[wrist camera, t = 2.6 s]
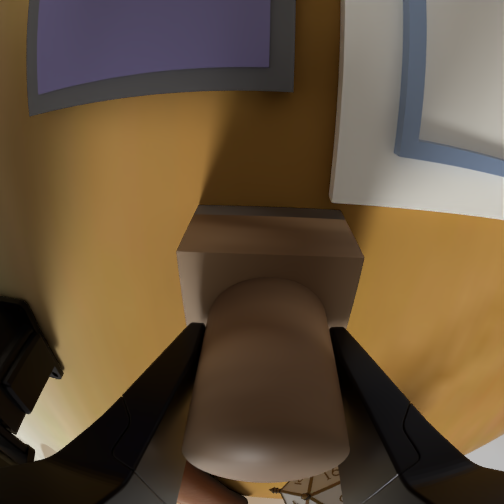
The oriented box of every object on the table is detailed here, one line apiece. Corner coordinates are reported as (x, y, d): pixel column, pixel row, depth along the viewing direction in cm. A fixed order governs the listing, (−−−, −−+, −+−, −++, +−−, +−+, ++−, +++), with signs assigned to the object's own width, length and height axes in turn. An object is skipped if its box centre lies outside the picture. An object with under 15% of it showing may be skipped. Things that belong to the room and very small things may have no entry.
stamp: (206, 313, 14) (172, 480, 7) (198, 204, 11) (118, 388, 4) (321, 317, 13) (347, 484, 7) (340, 210, 11) (420, 394, 4)
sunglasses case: (98, 436, 22) (111, 496, 17) (160, 406, 24) (185, 464, 19) (187, 496, 31) (207, 535, 25) (232, 473, 33) (257, 511, 27)
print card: (328, 196, 11) (334, 209, 10) (335, -107, 5) (341, -120, 4) (544, 221, 10) (557, 232, 9) (564, 2, 4) (578, 2, 3)
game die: (304, 422, 25) (231, 504, 19) (365, 407, 19) (276, 525, 12) (364, 474, 23) (304, 553, 17) (431, 468, 17) (366, 575, 11)
